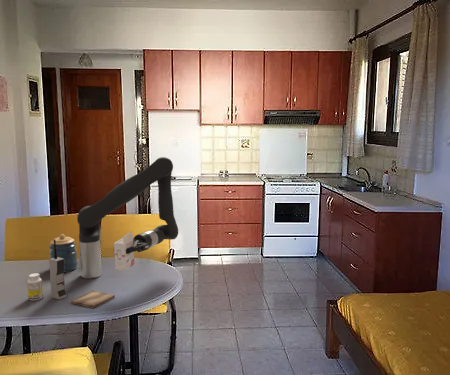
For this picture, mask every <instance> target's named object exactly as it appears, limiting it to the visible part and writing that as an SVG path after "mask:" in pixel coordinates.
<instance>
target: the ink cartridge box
mask: <svg viewBox="0 0 450 375" xmlns="http://www.w3.org/2000/svg"><path fill="white" fill-rule="evenodd" d="M133 239H134V236H133V232H132V231H130V232H128V233H126V234H125V235H123V236H122V237H121V238H120V239H118V240H117V241H115V242H113V252H114V263H115V271H128V270H129V269H130V268H131V267H133V266H134V265H135V252H131V253H129V254H126V249H127V248H129V247H133Z"/></svg>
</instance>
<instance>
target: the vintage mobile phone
mask: <svg viewBox="0 0 450 375" xmlns="http://www.w3.org/2000/svg"><path fill="white" fill-rule="evenodd" d="M53 239H54V254H55V258H52V259H50V258H49V260H48V261H49V264H48V265H49V278H50V291H51V292H50V294H51V299H52V298H53V299H56V300H58V301H59V300H63V299H65V298H67V297H68V296H67V295H68V294H67V292H66V288H65V286H66V285H65V272H64V258H59V257H57V252H56V241H55V238H53Z"/></svg>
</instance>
